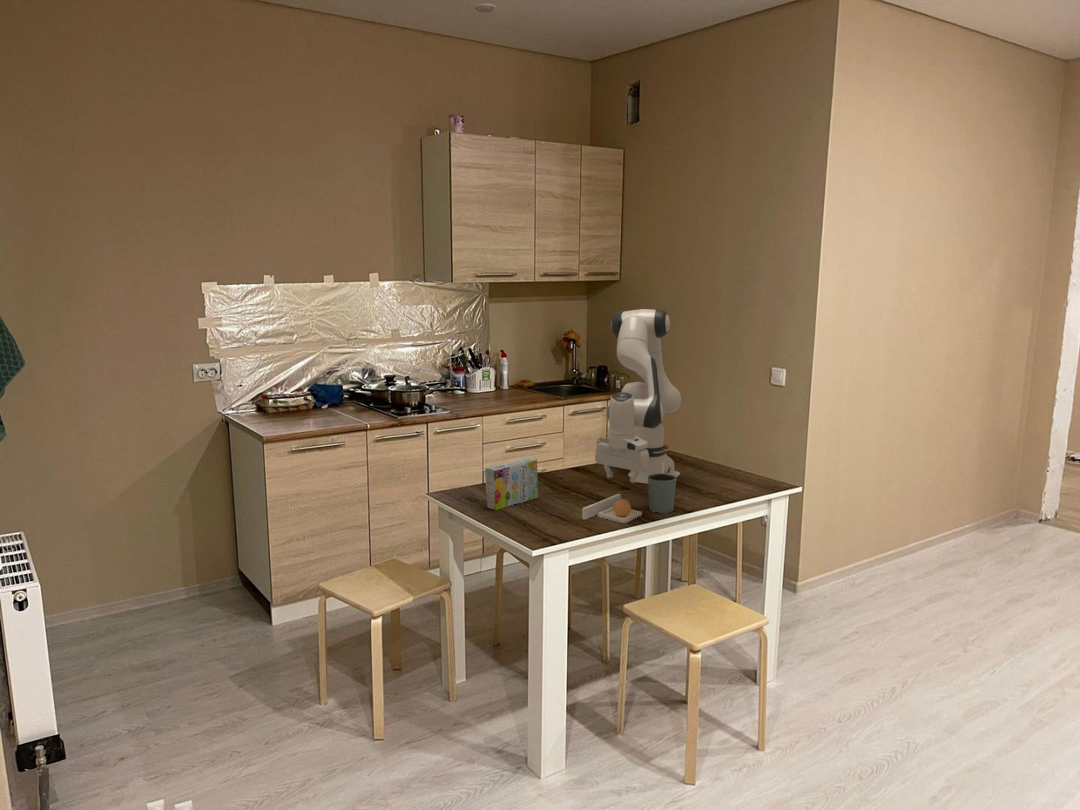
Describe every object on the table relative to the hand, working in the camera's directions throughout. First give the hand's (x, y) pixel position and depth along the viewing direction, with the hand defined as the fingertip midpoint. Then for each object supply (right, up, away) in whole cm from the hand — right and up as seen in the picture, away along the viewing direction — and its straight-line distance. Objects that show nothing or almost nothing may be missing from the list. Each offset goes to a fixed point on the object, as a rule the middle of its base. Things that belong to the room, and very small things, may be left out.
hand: (621, 479), depth 278 cm
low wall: (-6, -12, +7) cm, 15 cm away
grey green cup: (+15, -12, +10) cm, 22 cm away
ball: (0, -10, +1) cm, 10 cm away
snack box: (-38, -10, +17) cm, 43 cm away
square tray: (0, -13, +2) cm, 13 cm away
